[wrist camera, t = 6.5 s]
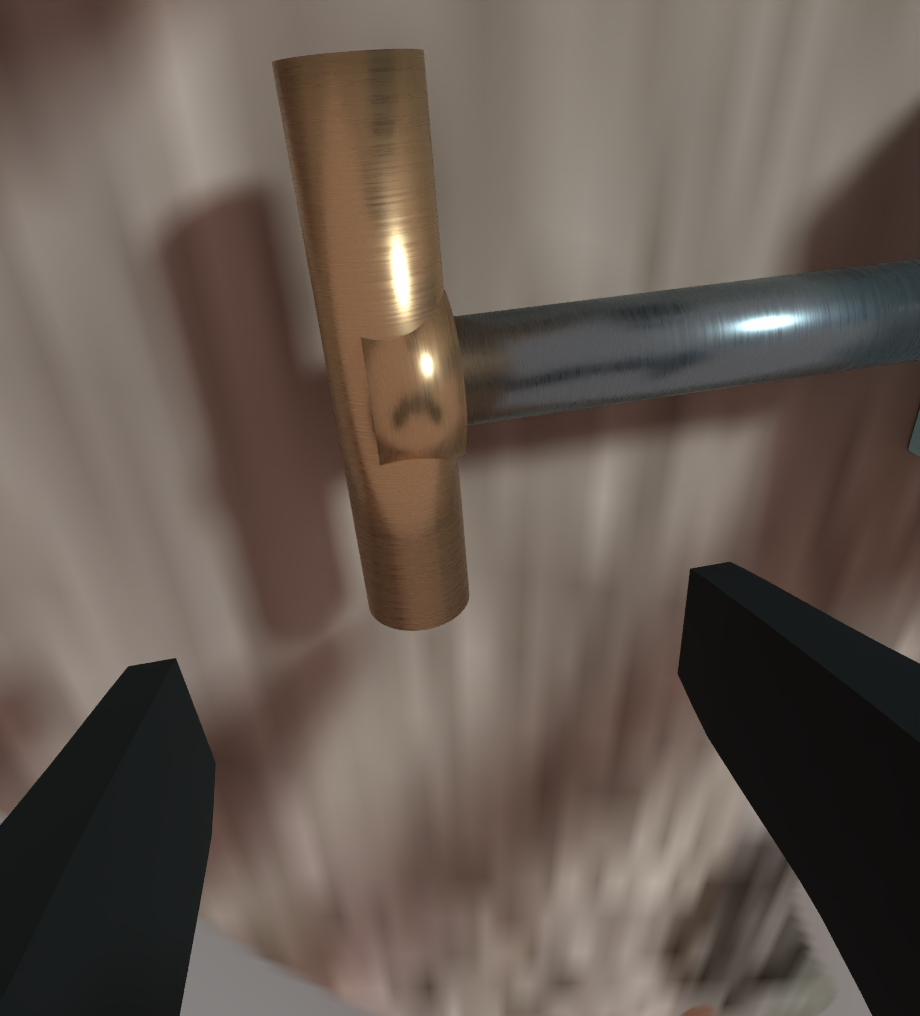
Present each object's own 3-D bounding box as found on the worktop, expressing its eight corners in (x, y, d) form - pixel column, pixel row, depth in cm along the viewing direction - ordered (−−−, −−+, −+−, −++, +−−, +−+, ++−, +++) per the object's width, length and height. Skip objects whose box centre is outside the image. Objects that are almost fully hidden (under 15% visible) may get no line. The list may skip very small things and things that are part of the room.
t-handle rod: (1077, 6, 12) (1270, -21, 9) (933, 471, 16) (1039, 531, 14) (276, 68, 10) (265, 55, 8) (364, 566, 15) (374, 653, 12)
